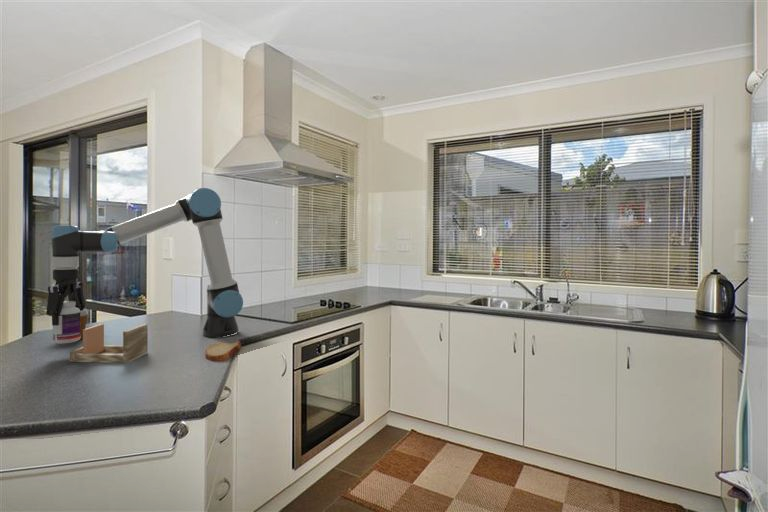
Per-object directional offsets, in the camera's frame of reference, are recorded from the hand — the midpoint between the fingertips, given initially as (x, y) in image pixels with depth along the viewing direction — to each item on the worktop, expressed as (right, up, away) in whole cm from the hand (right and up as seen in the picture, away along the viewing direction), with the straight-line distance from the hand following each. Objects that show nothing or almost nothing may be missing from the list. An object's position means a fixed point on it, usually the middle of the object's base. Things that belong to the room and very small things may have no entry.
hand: (66, 331), depth 151 cm
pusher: (+10, -8, 0) cm, 13 cm away
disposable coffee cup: (-16, -8, +25) cm, 31 cm away
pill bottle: (0, -4, 0) cm, 4 cm away
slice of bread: (+53, -11, +9) cm, 55 cm away
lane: (+15, -9, 0) cm, 18 cm away
